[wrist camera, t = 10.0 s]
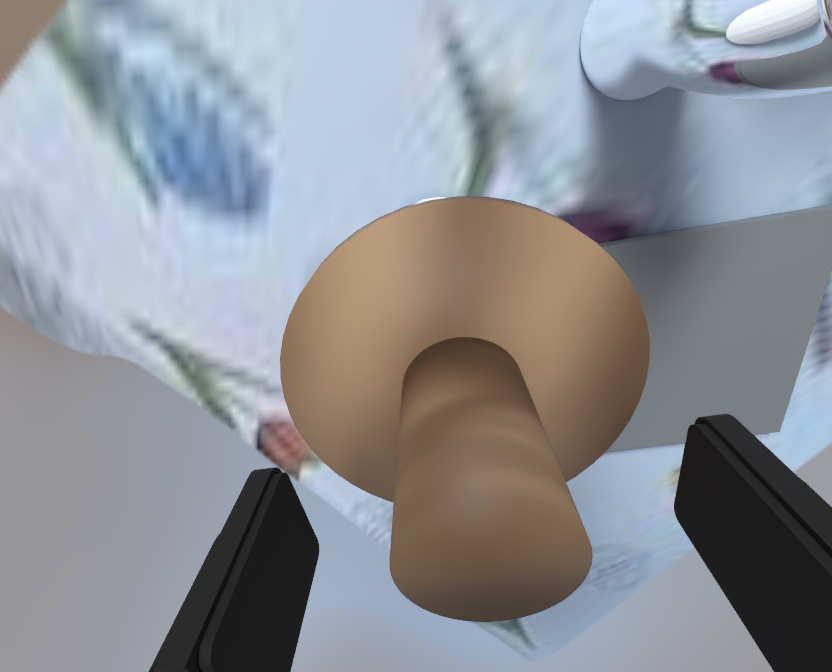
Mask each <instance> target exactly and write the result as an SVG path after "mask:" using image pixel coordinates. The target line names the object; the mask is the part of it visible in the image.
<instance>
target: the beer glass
mask: <svg viewBox="0 0 832 672" xmlns="http://www.w3.org/2000/svg"><path fill="white" fill-rule="evenodd" d="M580 54H581V61H582V65H583V68H584V71H585V73H586V76H587V77H588V79H589V81H590V82H591V83H592V85H593V86H594V87H595V88H596V89H597V90H598V91H600V92H601V93H602V94H604V95H606V96H608V97H610V98H613V99H617V100H634V99H639V98H643V97H646V96H649V95H651V94H653V93H655V92H657V91H659V90H661V89H663V88H665V87H667V86H669V87H674V88H678V89H682V90H686V91H690V92H694V93H699V94H703V95H709V96H716V97H725V98H733V99H765V98H784V97H792V96H801V95H809V94H818V93H824V92H830V91H832V0H592V2H591V4H590V6H589V9H588V11H587V13H586V16H585V19H584V23H583V26H582V31H581V39H580Z"/></svg>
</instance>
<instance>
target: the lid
mask: <svg viewBox="0 0 832 672" xmlns="http://www.w3.org/2000/svg"><path fill="white" fill-rule="evenodd" d="M649 362H650V339H649V332H648V325H647V319H646V316H645V313H644V310H643V307H642V304H641V301H640V298H639V296H638V295H637V293H636V291H635V289H634V287H633V285H632V283H631V281H630V280H629V278H628V277H627V275H626V274H625V273H624V271H623V270H622V269H621V268H620V266H619V265H618V264H617V262H616V261H615V260H614V259H613V258H612V257H611V256H610V255H609V254H608V253H607V252H606V251H605V250H604V249H602V248H601V247H600V246H599V245H598V244H597V243H596V242H595V241H593V240H592V239H590V238H589V237H587V236H586V235H584V234H583V233H581V232H580V231H578V230H577V229H575V228H574V227H572V226H571V225H569V224H568V223H566V222H565V221H563V220H562V219H560V218H558V217H556V216H553V215H551V214H549V213H547V212H545V211H543V210H540V209H538V208H535V207H532V206H528V205H525V204H522V203H518V202H515V201H511V200H504V199H497V198H490V197H451V198H443V199H435V200H429V201H425V202H421V203H418V204H414V205H410V206H407V207H403V208H401V209H399V210H396V211H394V212H391V213H389V214H387V215H384V216H382V217H380V218H378V219H376V220H374V221H373V222H371V223H369V224H368V225H366V226H364V227H363V228H361V229H359V230H358V231H356V232H355V233H354V234H352V235H351V236H350V237H349V238H347V239H346V240H345V241H344V242H342V243H341V244H340V245H339V246H337V247H336V249H335V250H334V251H333V252H332V253H331V254H330V255H329V256H328V257H327V258H326V259H325V260H324V261H323V262H322V264H321V265H320V266H319V268H318V269H317V270H316V272H315V273H314V275H313V276H312V277H311V279H310V280H309V282H308V283H307V285H306V286H305V288H304V289H303V291H302V292H301V293H300V295H299V297H298V299H297V301H296V303H295V305H294V307H293V309H292V311H291V313H290V316H289V319H288V322H287V325H286V329H285V332H284V335H283V341H282V348H281V356H280V369H281V382H282V388H283V393H284V398H285V401H286V404H287V407H288V410H289V413H290V415H291V417H292V419H293V421H294V423H295V425H296V427H297V429H298V431H299V433H300V434H301V436H302V437H303V438H304V440H305V441H306V443H307V444H308V446H309V447H310V448H311V449H312V450H313V452H314V453H315V454H316V455H317V456H318V457H319V458H320V459H321V460H322V461H323V462H324V463H325V464H326V465H327V466H328V467H330V468H331V469H332V470H333V471H334V472H335V473H337V474H338V475H339V476H341V477H342V478H344V479H345V480H347V481H348V482H350V483H351V484H353V485H355V486H357V487H358V488H360V489H362V490H364V491H366V492H368V493H370V494H372V495H375V496H377V497H380V498H382V499H385V500H387V501H391V502H394V507H393V521H392V535H391V549H390V572H391V576H392V578H393V581H394V583H395V584H396V586H397V588H398V589H399V590H400V592H401V593H402V594H403V595H404V596H405V597H406V598H408V599H409V600H410V601H412V602H413V603H414V604H416V605H418V606H419V607H421V608H423V609H425V610H427V611H429V612H432V613H435V614H438V615H440V616H444V617H448V618H452V619H458V620H464V621H475V622H492V621H504V620H511V619H516V618H521V617H525V616H529V615H532V614H535V613H538V612H541V611H543V610H546V609H548V608H550V607H552V606H554V605H556V604H557V603H559V602H561V601H563V600H564V599H565V598H567V597H568V596H569V595H571V594H572V593H573V592H574V591H575V590H576V589H577V588H578V587H579V586H580V585H581V584H582V582H583V581H584V580H585V578H586V576H587V574H588V573H589V570H590V567H591V563H592V547H591V544H590V541H589V538H588V536H587V533H586V531H585V528H584V526H583V523H582V521H581V519H580V516H579V514H578V511H577V509H576V506H575V504H574V501H573V499H572V496H571V494H570V491H569V489H568V486H567V484H566V482H567V481H569V480H571V479H572V478H574V477H576V476H577V475H578V474H580V473H581V472H582V471H584V470H585V469H586V468H588V467H589V466H591V465H592V464H593V463H594V462H595V461H596V460H597V459H598V458H599V457H600V456H602V455H603V454H604V453H605V452H606V451H607V450H608V449H609V447H610V446H611V445H612V444H613V443H614V442H615V441H616V439H617V438H618V437H619V436H620V434H621V433H622V431H623V430H624V428H625V427H626V425H627V424H628V423H629V421H630V420H631V418H632V416H633V414H634V412H635V410H636V408H637V406H638V404H639V402H640V399H641V396H642V393H643V390H644V387H645V384H646V379H647V374H648V368H649Z"/></svg>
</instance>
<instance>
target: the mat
mask: <svg viewBox="0 0 832 672" xmlns="http://www.w3.org/2000/svg"><path fill="white" fill-rule="evenodd" d="M598 245H599V246H600V247H601V248H602V249H604V250H605V251H606V252H607V253H608V254H609V255H610V256H611V257H612V258H613V259H614V260H615V261H616V262H617V264H618V265H619V266H620V268H621V269H622V270H623V271H624V273H625V274H626V275H627V277H628V278H629V280H630V281H631V283H632V285H633V287H634V289H635V291H636V293H637V295H638V296H639V298H640V301H641V304H642V307H643V310H644V313H645V316H646V319H647V325H648V332H649V339H650V362H649V368H648V374H647V379H646V384H645V387H644V390H643V393H642V396H641V399H640V402H639V404H638V406H637V408H636V410H635V412H634V414H633V416H632V418H631V420H630V421H629V423H628V424H627V425H626V427H625V428H624V430H623V431H622V433H621V434H620V436H619V437H618V438H617V439H616V441H615V442H614V443H613V444H612V445H611V446H610V447H609V449H608V450H607V451H606V452H614V451H623V450H631V449H639V448H648V447H656V446H664V445H673V444H681V443H686V437H687V432H688V428H689V426H690V425H694V423H695V421H696V419H697V418H698V417H704V416H712V415H720V414H730V415H732V416H733V417H735V418H736V419H737V420H738V421H739V422H740V423H741V424H742V425H744V426H745V427H746V428H747V429H748V430H749V431H750V432H751V433H752V434H753V435H756V434H765V433H773V432H780V429H781V426H782V422H783V419H784V416H785V413H786V410H787V407H788V404H789V401H790V398H791V394H792V391H793V388H794V385H795V382H796V379H797V376H798V373H799V370H800V367H801V363H802V360H803V357H804V354H805V351H806V348H807V345H808V342H809V339H810V336H811V332H812V329H813V326H814V323H815V320H816V317H817V314H818V311H819V308H820V305H821V301H822V298H823V295H824V292H825V289H826V286H827V283H828V280H829V277H830V274H831V270H832V205H826V206H820V207H814V208H808V209H802V210H796V211H790V212H784V213H778V214H772V215H766V216H760V217H754V218H748V219H742V220H736V221H730V222H724V223H718V224H712V225H706V226H700V227H694V228H688V229H682V230H676V231H670V232H664V233H658V234H652V235H646V236H640V237H634V238H628V239H622V240H616V241H610V242H604V243H598ZM606 452H605V453H606Z"/></svg>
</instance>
